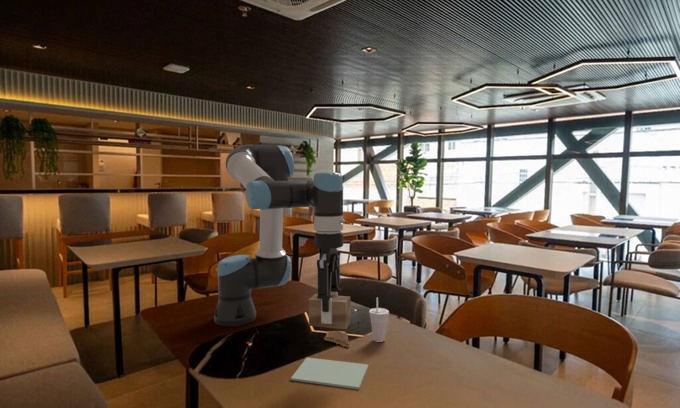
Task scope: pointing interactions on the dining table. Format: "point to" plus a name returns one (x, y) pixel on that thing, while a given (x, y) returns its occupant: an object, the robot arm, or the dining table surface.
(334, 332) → the shard
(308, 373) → the felt mat
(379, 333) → the smoothie
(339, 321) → the beige block
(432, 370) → the dining table surface
